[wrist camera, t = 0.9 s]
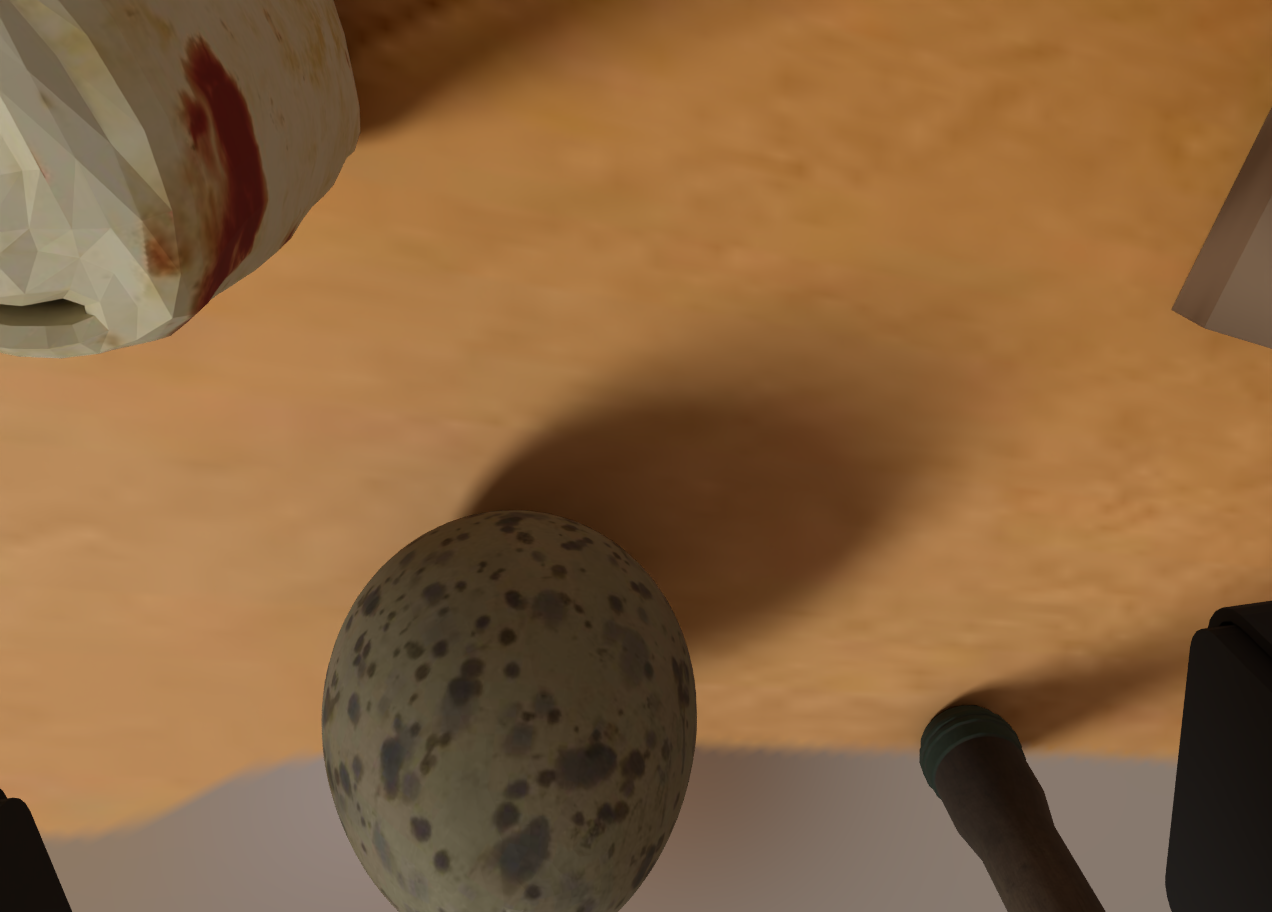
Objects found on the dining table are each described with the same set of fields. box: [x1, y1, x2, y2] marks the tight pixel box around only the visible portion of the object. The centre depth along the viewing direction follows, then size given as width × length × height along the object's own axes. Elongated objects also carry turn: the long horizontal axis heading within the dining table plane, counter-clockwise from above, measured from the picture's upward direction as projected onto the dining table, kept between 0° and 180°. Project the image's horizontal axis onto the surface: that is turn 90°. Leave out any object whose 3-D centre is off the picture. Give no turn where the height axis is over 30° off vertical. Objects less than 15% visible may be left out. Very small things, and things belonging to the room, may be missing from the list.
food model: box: [0, 0, 360, 358], centre depth 23 cm, size 10×7×20 cm
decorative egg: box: [322, 510, 697, 912], centre depth 33 cm, size 11×11×15 cm
